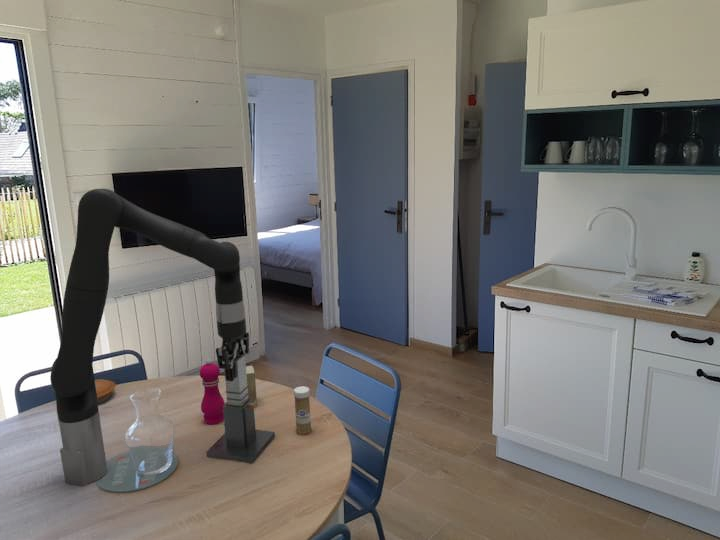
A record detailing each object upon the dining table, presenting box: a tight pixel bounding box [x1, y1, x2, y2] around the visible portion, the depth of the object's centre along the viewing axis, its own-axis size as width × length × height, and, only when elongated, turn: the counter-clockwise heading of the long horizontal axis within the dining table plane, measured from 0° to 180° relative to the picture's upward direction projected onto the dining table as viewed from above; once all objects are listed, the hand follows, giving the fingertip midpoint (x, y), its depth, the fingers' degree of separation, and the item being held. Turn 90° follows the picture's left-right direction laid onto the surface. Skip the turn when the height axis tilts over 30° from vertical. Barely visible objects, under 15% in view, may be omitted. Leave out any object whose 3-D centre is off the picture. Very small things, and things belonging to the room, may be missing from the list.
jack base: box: [205, 398, 276, 464], centre depth 152 cm, size 14×14×14 cm
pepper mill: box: [199, 358, 226, 425], centre depth 167 cm, size 7×7×20 cm
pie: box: [95, 378, 117, 405], centre depth 185 cm, size 15×16×5 cm
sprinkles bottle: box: [293, 386, 312, 435], centre depth 159 cm, size 5×5×14 cm
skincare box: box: [246, 365, 258, 408], centre depth 177 cm, size 6×4×12 cm
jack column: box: [224, 352, 249, 408], centre depth 150 cm, size 4×4×20 cm
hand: (235, 375), depth 149 cm, fingers open, 6 cm apart
